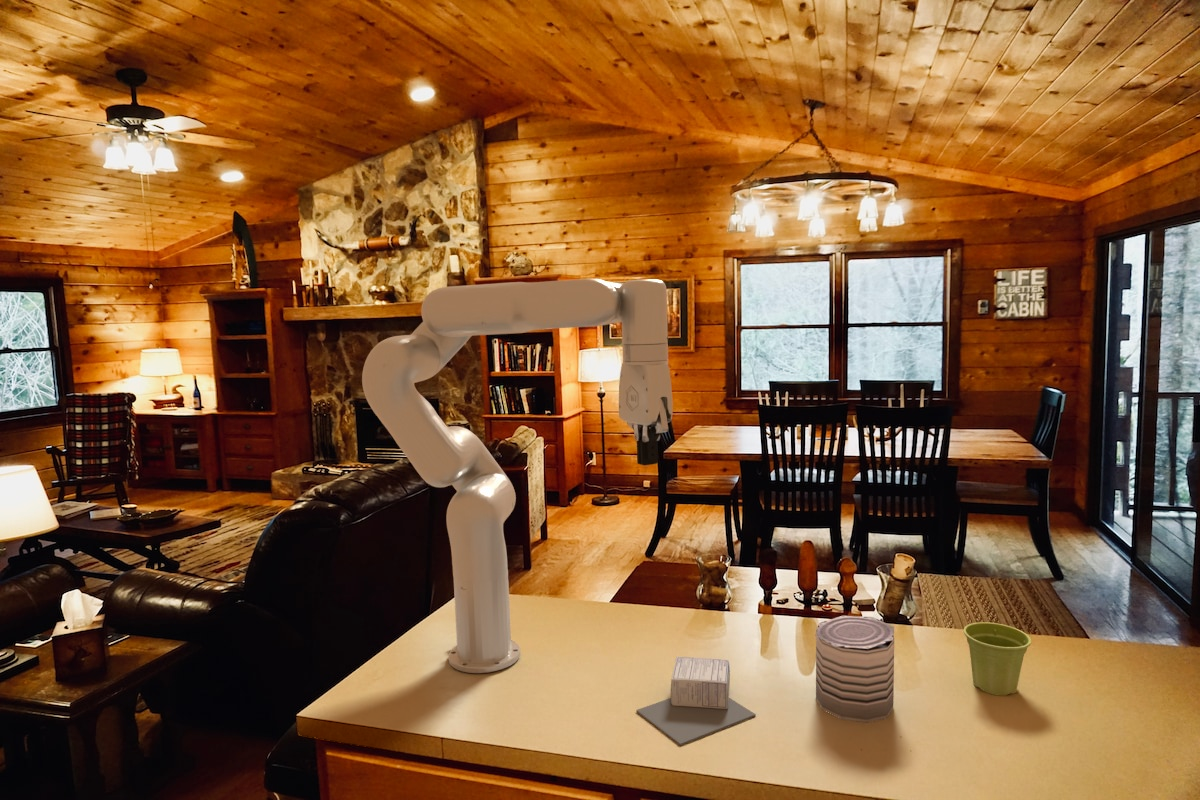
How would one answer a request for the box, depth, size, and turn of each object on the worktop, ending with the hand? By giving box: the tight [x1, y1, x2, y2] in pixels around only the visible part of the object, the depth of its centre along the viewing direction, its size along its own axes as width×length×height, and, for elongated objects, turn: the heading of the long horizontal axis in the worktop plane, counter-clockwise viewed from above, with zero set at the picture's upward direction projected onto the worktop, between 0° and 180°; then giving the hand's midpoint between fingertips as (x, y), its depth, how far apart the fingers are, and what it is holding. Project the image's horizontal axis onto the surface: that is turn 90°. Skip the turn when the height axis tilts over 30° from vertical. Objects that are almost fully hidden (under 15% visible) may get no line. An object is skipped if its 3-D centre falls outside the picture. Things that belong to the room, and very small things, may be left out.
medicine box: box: [670, 656, 731, 709], centre depth 119 cm, size 8×4×9 cm
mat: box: [636, 697, 757, 747], centre depth 114 cm, size 11×14×1 cm
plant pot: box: [963, 621, 1032, 697], centre depth 119 cm, size 9×9×9 cm
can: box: [815, 615, 895, 724], centre depth 116 cm, size 11×11×12 cm
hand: (647, 463), depth 128 cm, fingers closed
